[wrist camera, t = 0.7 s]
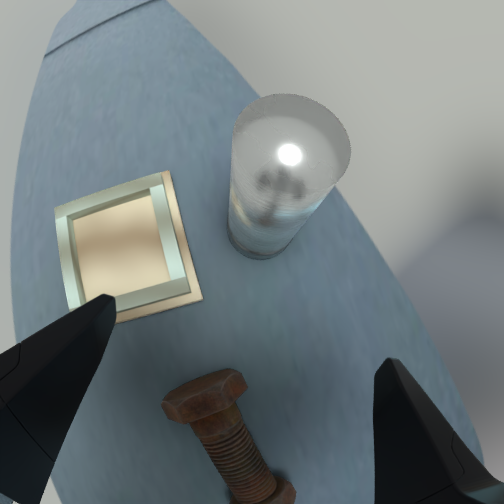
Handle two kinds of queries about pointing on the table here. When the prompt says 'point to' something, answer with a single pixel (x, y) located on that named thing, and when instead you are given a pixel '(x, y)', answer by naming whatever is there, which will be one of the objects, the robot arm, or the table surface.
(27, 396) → the robot arm
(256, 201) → the grey cylindrical piece
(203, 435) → the bolt
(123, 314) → the tray
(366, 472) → the table surface
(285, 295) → the table surface
